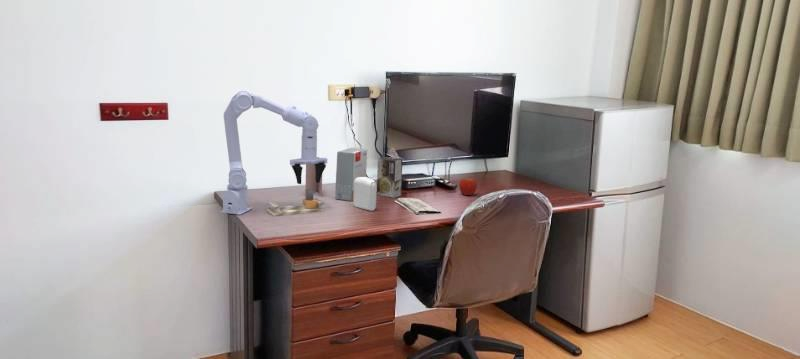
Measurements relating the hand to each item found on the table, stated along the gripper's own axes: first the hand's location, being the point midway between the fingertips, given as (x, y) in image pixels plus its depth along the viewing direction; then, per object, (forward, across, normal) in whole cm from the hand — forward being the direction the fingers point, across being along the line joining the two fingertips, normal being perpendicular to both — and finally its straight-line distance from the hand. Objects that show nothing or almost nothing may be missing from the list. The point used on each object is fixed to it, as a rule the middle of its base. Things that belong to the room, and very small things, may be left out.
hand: (308, 182), depth 241 cm
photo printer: (+11, +22, -6) cm, 25 cm away
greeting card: (+11, +14, +22) cm, 28 cm away
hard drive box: (+11, +26, +13) cm, 31 cm away
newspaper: (+11, +42, -13) cm, 45 cm away
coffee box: (+11, +42, +10) cm, 45 cm away
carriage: (+9, 0, -1) cm, 9 cm away
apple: (+11, +76, -2) cm, 77 cm away
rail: (+10, -5, -1) cm, 12 cm away
